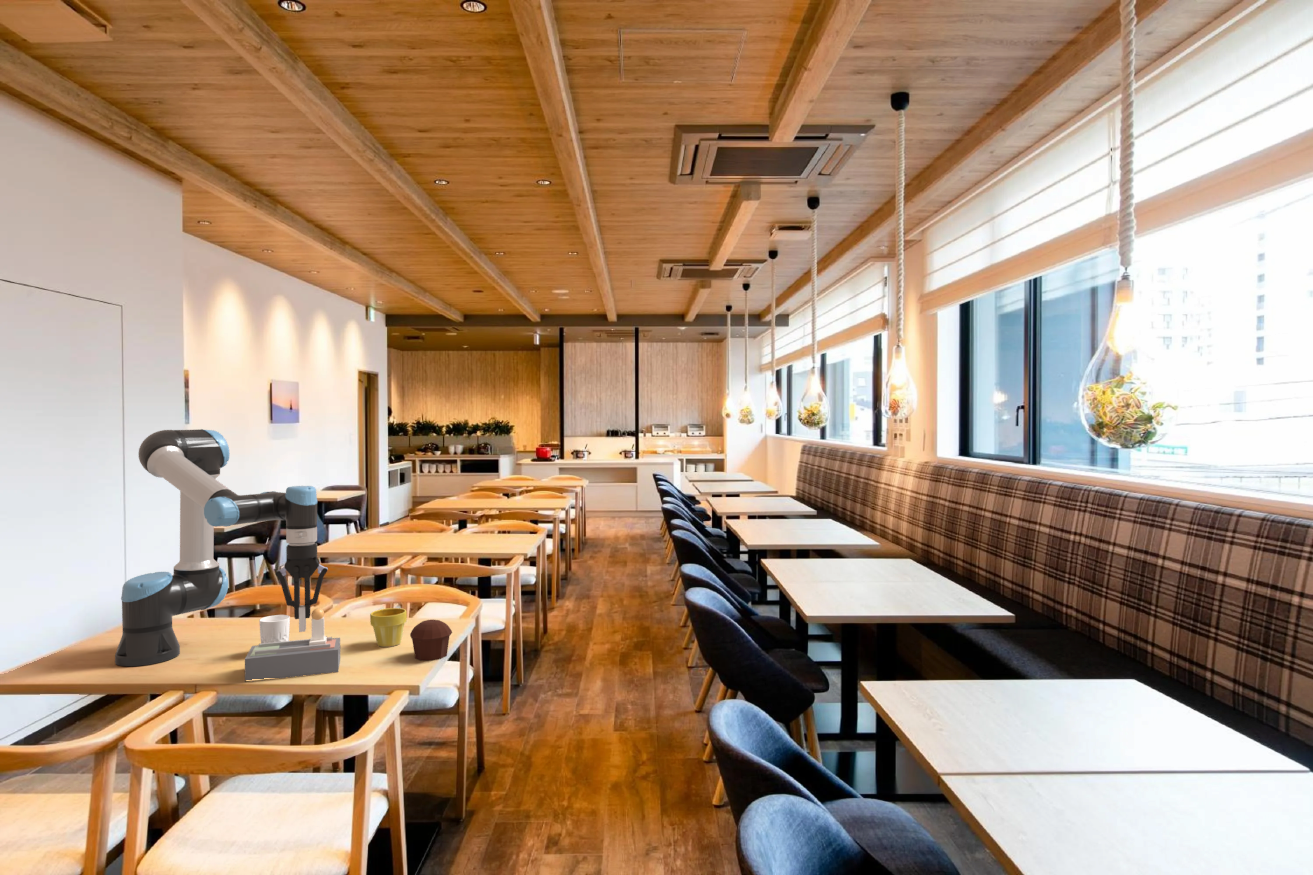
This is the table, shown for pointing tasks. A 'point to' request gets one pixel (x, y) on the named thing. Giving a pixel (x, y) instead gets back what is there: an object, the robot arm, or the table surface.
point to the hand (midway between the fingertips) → (302, 630)
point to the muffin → (430, 640)
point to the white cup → (274, 628)
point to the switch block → (292, 659)
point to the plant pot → (388, 626)
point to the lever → (318, 628)
